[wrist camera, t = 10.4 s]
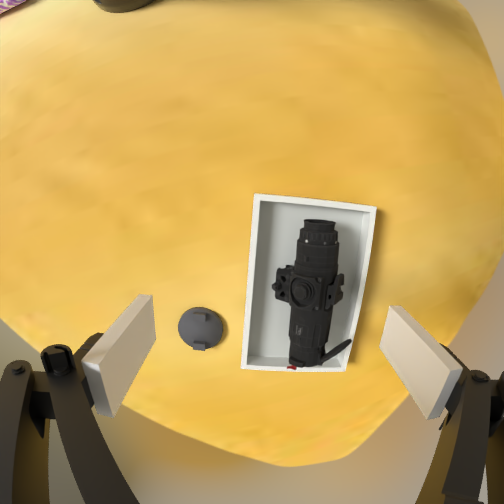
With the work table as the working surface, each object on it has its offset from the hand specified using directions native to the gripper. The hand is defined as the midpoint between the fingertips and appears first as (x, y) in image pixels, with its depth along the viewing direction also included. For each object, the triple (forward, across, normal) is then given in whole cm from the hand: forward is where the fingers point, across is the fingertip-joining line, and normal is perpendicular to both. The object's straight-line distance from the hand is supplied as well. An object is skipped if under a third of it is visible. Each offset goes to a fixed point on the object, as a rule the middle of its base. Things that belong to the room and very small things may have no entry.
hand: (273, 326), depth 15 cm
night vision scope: (+21, +6, -6) cm, 23 cm away
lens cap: (+22, -7, -12) cm, 26 cm away
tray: (+22, +6, -6) cm, 23 cm away
